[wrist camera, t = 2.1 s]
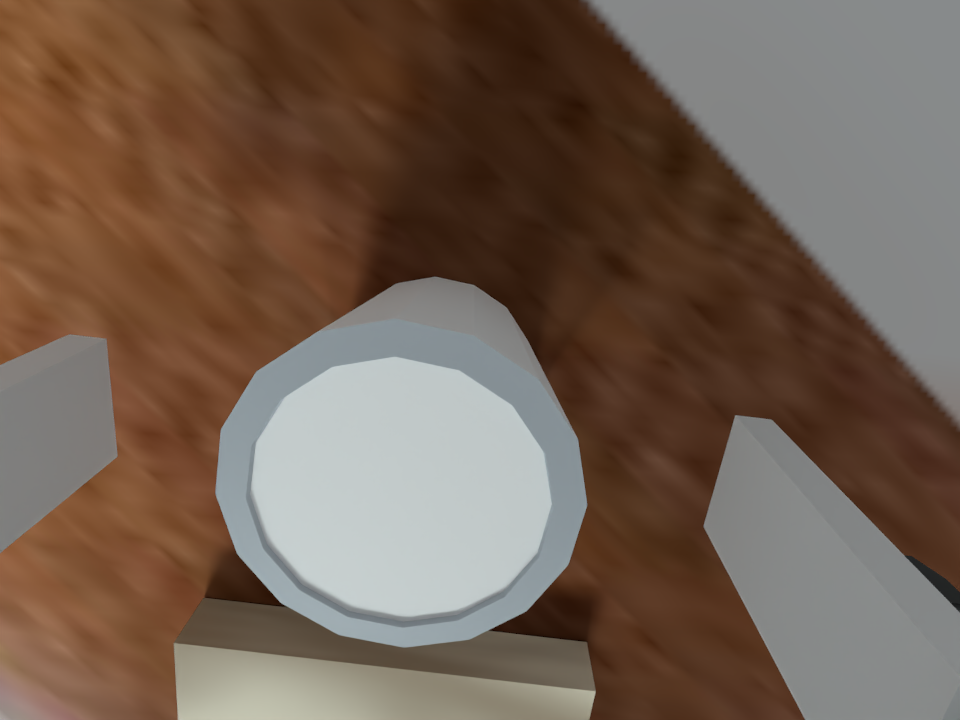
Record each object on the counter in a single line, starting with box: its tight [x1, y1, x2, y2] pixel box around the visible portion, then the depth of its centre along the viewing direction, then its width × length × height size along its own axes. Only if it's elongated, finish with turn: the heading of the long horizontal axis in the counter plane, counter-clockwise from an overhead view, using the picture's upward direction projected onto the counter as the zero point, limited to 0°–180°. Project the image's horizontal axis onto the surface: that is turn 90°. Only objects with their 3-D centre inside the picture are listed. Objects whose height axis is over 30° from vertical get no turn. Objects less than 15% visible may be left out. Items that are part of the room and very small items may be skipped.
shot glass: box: [215, 277, 587, 648], centre depth 14 cm, size 7×7×7 cm
